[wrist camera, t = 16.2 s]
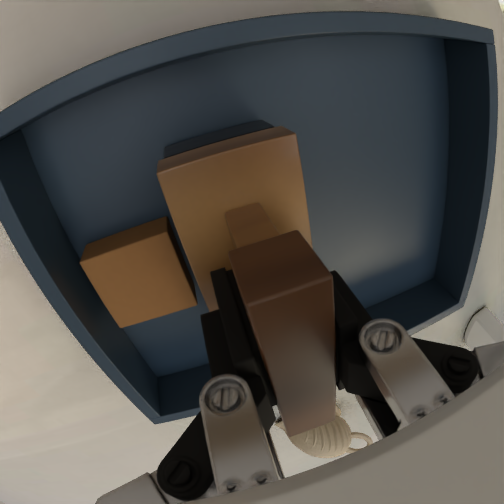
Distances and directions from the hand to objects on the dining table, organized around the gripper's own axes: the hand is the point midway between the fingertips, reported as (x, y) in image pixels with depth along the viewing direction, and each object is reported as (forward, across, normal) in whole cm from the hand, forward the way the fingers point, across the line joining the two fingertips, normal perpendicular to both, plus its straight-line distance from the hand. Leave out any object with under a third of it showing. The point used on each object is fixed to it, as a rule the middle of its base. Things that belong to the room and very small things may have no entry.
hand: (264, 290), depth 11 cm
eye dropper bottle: (+5, -22, +20) cm, 31 cm away
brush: (+4, 0, 0) cm, 4 cm away
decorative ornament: (+5, -2, +22) cm, 23 cm away
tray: (+5, -3, 0) cm, 5 cm away
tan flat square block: (+4, +5, 0) cm, 6 cm away
